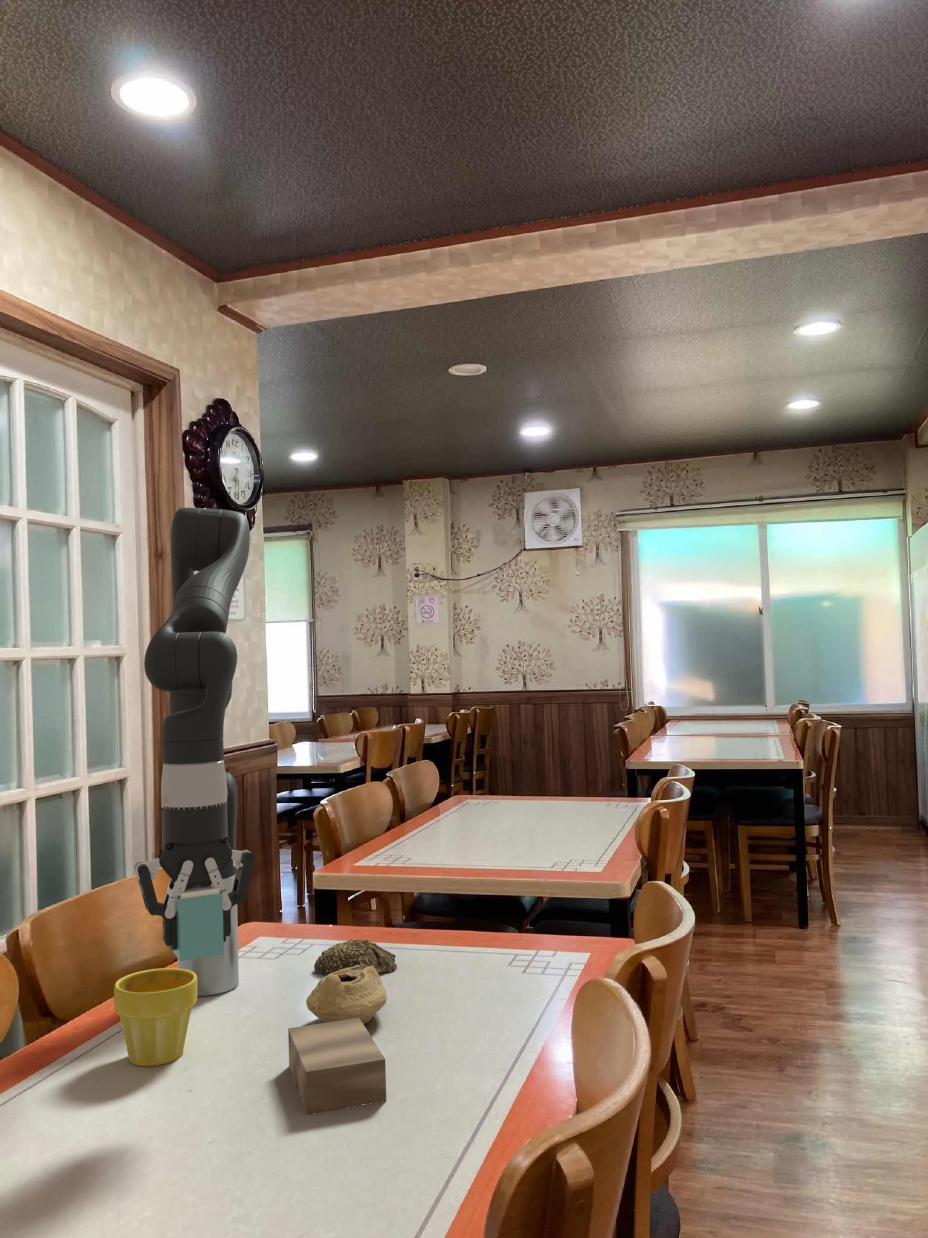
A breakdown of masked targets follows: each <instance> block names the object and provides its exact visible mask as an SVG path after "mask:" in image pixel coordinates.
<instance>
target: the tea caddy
mask: <svg viewBox="0 0 928 1238" xmlns="http://www.w3.org/2000/svg"><path fill="white" fill-rule="evenodd" d="M179 888H180V887H179ZM175 917H176V918H177V950H172V951H171V952H172V953H173V954H174V955H175V957H176V958H177V960H178V959H179V961H186V960H192V959H198V958H204V957H210V956H216V955H223V954H224V941H223V894H222V893H221V892H219V888H214V887H213V885H212V884H211V886H195V887H193V888H189V889H185V890H184V892H182V893H180V898H177V911H176V913H175Z"/></svg>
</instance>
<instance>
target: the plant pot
mask: <svg viewBox="0 0 928 1238" xmlns="http://www.w3.org/2000/svg"><path fill="white" fill-rule="evenodd" d="M113 988H114V989H113V1006H114V1012H115V1014H116V1015H118V1016H119V1017H120V1022H121V1027H122V1030H123V1036H124V1041H125V1046H126V1051H127V1055H128V1060H129V1062H130V1063H132V1064H133V1065H136V1066H139V1067H154V1066H155V1067H156V1066H162V1065H165V1064H169V1063H172V1062H174V1061H177V1060H178V1059H179V1058H180V1057H181V1056H182V1055H183V1054H184V1049H185V1043H186V1037H187V1033H188V1029H189V1025H190V1023H189V1022H190V1017H191V1013H192V1008H193V1007H194V1006H195V1005H196V1004H197V1001H198V996H197V975H196V974H195V973H194V972H192V971H190V970H186V969H179V968H178V967H176V968H175V967H163V968H151V969H145V970H141V971H137V972H134V973H130V974H128V975H125V976H123V977H121V978H119V979H118V980H117V981H116V982H115V984H114V987H113Z"/></svg>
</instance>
